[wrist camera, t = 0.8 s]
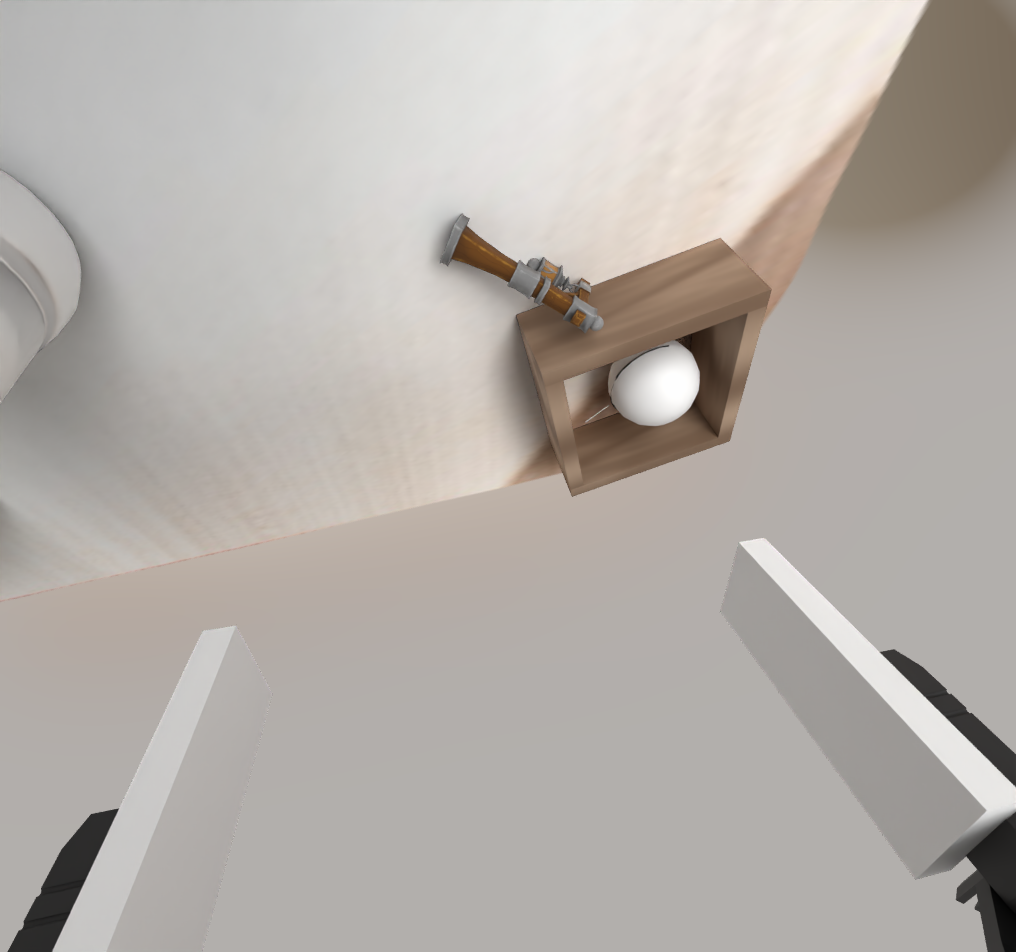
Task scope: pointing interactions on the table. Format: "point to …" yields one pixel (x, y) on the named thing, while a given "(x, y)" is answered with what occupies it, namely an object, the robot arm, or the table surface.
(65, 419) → the table surface
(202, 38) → the table surface
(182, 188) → the table surface
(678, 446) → the organizer frame
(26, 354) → the plastic bottle
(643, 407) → the white egg
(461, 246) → the wooden post with brackets
